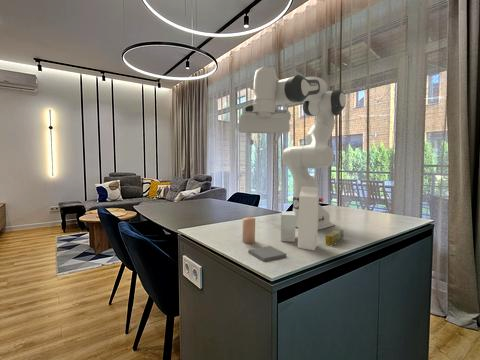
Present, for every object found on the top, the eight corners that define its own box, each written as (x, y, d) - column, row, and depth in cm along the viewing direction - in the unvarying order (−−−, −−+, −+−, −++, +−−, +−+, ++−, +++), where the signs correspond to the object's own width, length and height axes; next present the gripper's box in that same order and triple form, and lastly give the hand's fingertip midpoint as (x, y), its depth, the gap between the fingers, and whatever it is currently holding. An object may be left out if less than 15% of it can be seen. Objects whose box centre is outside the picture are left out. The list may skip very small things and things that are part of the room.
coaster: (270, 248, 93) (270, 245, 93) (286, 256, 85) (286, 253, 85) (248, 252, 89) (248, 249, 89) (263, 261, 81) (263, 258, 81)
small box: (295, 242, 101) (295, 215, 100) (280, 241, 102) (281, 214, 101) (294, 236, 109) (295, 211, 108) (281, 235, 110) (281, 210, 109)
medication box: (337, 238, 108) (337, 228, 108) (343, 239, 106) (343, 229, 106) (325, 245, 99) (325, 234, 99) (332, 246, 97) (332, 236, 97)
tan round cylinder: (250, 239, 104) (251, 216, 104) (257, 242, 100) (257, 219, 99) (240, 240, 102) (240, 217, 101) (246, 244, 98) (246, 220, 97)
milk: (314, 250, 92) (316, 188, 90) (297, 248, 94) (299, 187, 93) (317, 245, 97) (319, 186, 96) (300, 243, 100) (302, 185, 98)
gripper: (289, 111, 106) (288, 145, 107) (239, 110, 107) (238, 144, 108) (292, 108, 100) (290, 144, 101) (238, 107, 100) (237, 143, 101)
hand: (263, 144), depth 104 cm, fingers open, 8 cm apart
